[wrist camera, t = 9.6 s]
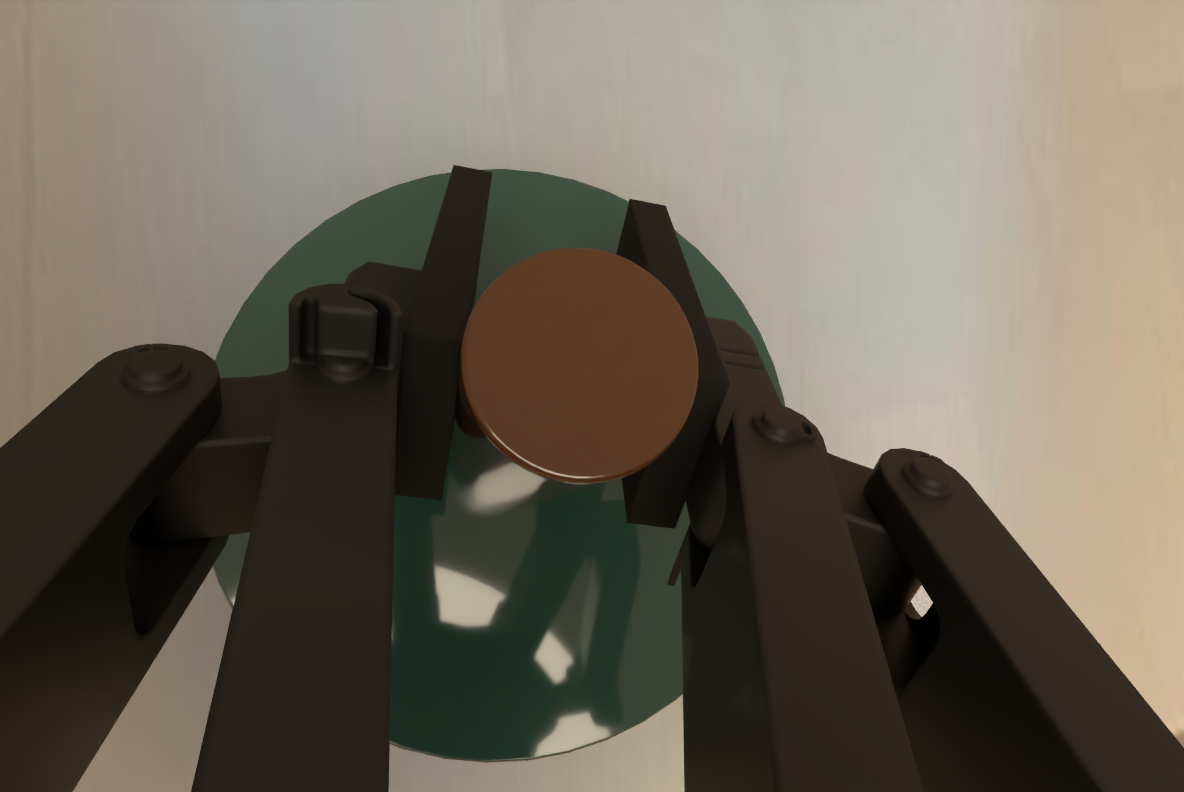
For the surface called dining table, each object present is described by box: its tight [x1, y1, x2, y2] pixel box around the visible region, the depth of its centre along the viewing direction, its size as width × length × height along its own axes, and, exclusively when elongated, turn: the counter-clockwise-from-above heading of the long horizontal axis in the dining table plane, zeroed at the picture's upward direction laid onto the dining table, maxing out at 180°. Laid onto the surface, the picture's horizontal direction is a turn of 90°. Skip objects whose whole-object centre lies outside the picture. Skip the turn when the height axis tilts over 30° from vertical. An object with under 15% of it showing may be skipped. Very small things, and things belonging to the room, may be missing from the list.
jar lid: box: [213, 169, 785, 763], centre depth 14 cm, size 14×14×10 cm
